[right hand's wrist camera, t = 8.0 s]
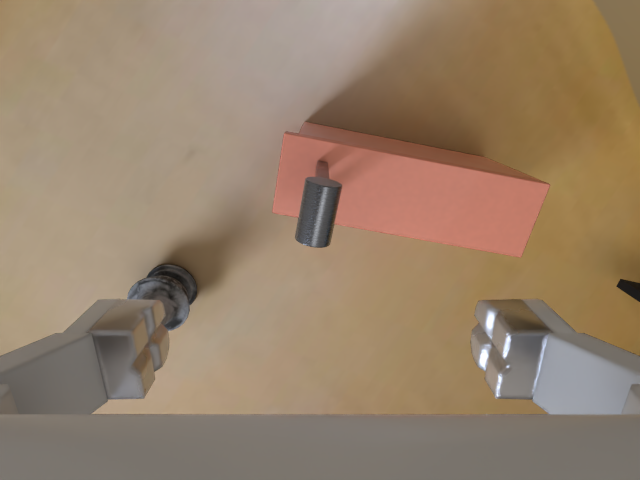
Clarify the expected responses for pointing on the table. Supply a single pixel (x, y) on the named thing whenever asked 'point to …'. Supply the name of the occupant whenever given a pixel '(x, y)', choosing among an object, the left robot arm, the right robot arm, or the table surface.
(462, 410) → the table surface
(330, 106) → the table surface
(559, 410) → the right robot arm
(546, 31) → the table surface
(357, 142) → the chest
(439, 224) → the lid
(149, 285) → the salt shaker
